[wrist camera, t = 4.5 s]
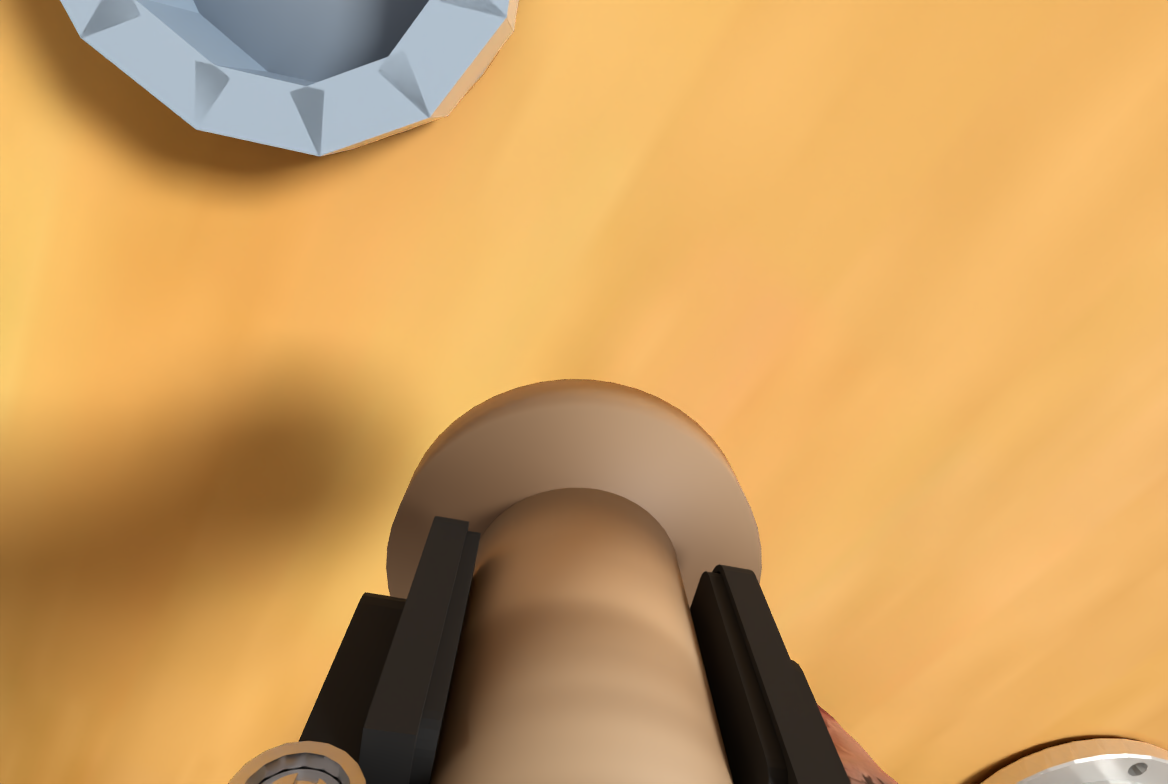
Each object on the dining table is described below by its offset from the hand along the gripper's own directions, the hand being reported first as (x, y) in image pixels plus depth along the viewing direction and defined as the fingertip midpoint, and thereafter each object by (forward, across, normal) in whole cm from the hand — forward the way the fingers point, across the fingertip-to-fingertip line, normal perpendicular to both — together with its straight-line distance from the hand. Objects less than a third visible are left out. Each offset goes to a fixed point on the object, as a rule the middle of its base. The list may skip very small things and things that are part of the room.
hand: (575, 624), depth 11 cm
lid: (+2, 0, 0) cm, 2 cm away
